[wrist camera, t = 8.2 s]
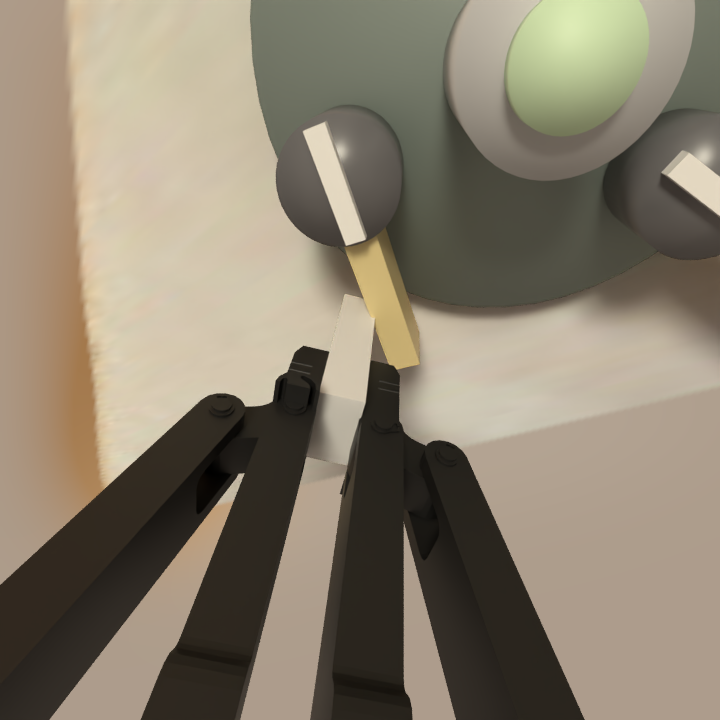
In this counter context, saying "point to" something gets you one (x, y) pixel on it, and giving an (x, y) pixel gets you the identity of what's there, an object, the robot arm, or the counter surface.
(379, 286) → the knob
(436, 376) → the counter surface
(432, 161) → the tribrach plate
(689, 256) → the knob
